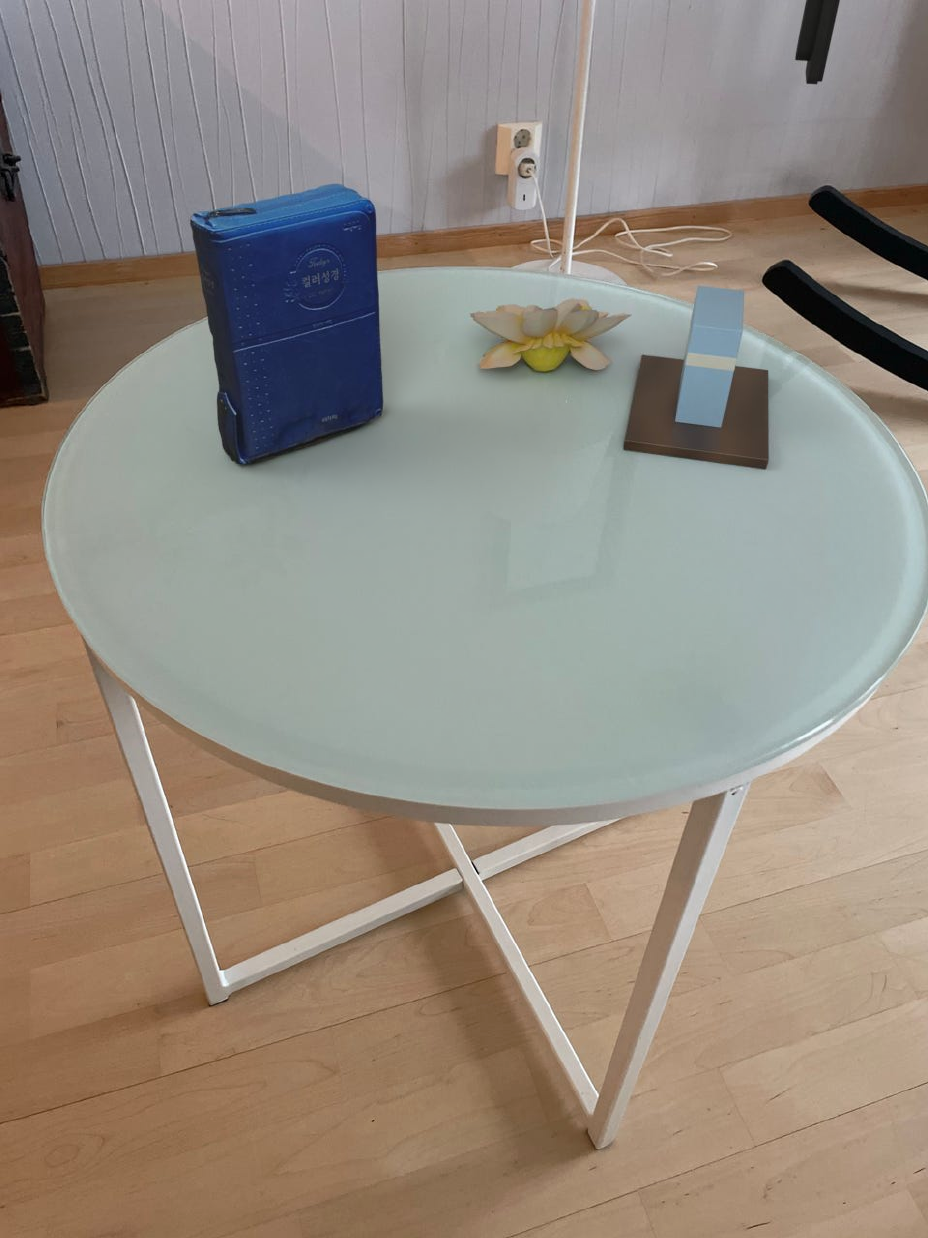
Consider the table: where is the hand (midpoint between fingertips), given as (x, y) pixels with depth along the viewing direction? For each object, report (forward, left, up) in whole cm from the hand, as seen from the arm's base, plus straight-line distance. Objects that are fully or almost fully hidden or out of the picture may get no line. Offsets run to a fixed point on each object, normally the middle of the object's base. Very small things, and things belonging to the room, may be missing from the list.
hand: (913, 84), depth 49 cm
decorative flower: (+21, -31, -33) cm, 50 cm away
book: (+39, -12, -33) cm, 52 cm away
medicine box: (+6, -25, -32) cm, 41 cm away
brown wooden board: (+6, -25, -33) cm, 42 cm away
